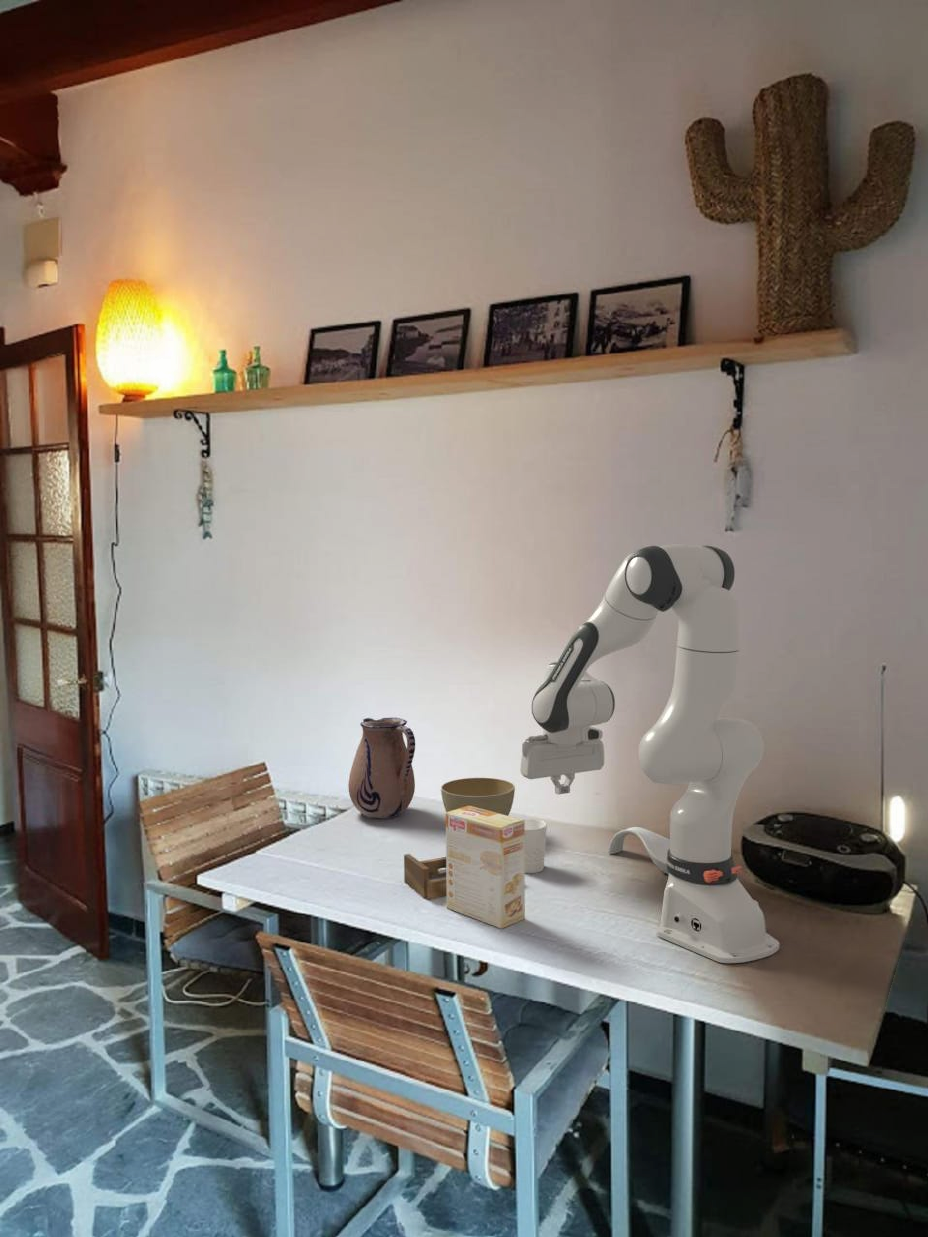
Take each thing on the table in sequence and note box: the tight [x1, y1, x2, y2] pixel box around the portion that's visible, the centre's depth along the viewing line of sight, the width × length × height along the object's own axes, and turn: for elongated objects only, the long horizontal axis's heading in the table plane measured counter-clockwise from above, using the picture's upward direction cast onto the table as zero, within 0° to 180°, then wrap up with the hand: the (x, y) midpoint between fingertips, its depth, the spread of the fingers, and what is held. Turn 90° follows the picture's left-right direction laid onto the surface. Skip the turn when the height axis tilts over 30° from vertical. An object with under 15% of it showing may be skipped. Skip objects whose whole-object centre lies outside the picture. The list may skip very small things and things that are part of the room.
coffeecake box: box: [445, 806, 526, 930], centre depth 183 cm, size 15×7×20 cm, turn 45°
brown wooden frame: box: [403, 853, 447, 901], centre depth 201 cm, size 21×12×6 cm, turn 117°
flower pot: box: [440, 777, 516, 816], centre depth 232 cm, size 18×18×12 cm
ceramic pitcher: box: [347, 717, 416, 820], centre depth 248 cm, size 18×21×25 cm
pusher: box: [438, 868, 446, 874], centre depth 200 cm, size 5×9×5 cm, turn 27°
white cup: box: [521, 818, 548, 874], centre depth 208 cm, size 8×8×10 cm
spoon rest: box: [608, 826, 670, 876], centre depth 210 cm, size 24×12×7 cm, turn 43°
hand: (562, 793), depth 212 cm, fingers closed
